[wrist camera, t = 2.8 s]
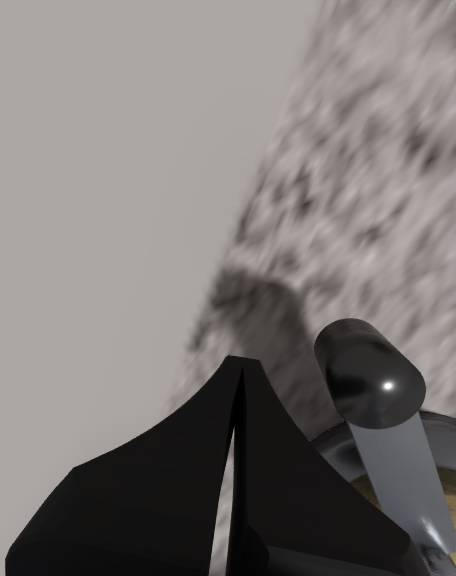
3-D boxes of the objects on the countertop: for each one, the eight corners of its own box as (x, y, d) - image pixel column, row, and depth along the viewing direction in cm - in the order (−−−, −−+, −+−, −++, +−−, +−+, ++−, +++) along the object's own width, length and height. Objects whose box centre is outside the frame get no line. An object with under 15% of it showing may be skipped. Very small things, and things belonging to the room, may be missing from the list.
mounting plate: (470, 593, 15) (494, 635, 14) (270, 550, 16) (272, 585, 15) (566, 435, 12) (611, 467, 11) (307, 392, 13) (314, 416, 11)
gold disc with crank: (534, 587, 13) (641, 732, 9) (349, 606, 14) (378, 732, 11) (458, 268, 9) (587, 303, 6) (226, 348, 11) (210, 412, 7)
